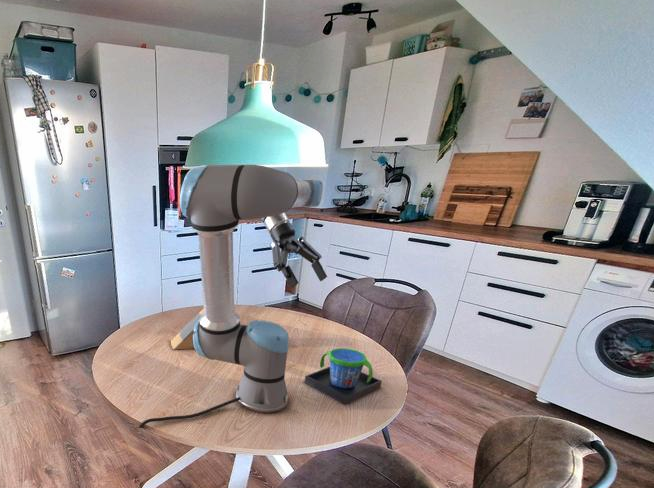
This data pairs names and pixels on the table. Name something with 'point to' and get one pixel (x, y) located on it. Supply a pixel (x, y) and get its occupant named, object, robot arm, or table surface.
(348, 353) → the snack cup
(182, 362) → the table surface
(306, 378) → the tray
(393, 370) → the table surface
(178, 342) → the sandwich container
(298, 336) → the table surface
